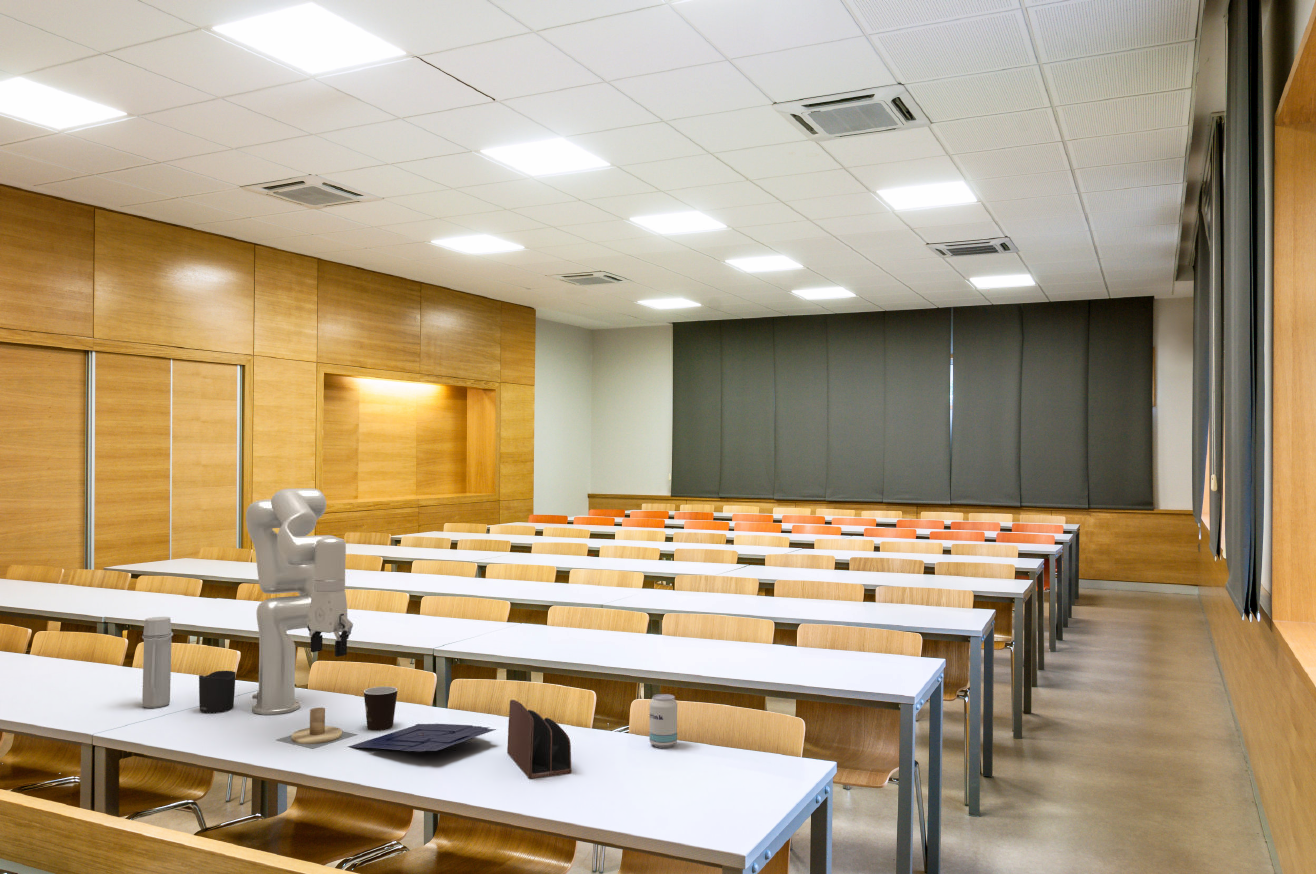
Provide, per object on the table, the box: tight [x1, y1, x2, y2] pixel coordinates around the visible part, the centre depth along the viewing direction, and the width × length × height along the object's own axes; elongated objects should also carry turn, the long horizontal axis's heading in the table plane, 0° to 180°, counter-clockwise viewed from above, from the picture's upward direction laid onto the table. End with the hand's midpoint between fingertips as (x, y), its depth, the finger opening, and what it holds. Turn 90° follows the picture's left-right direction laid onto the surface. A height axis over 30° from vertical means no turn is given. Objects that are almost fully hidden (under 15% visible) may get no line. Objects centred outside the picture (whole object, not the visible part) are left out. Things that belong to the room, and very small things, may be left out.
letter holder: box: [506, 699, 572, 780], centre depth 212 cm, size 10×20×14 cm, turn 24°
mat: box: [275, 730, 359, 750], centre depth 230 cm, size 14×14×1 cm
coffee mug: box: [363, 686, 399, 732], centre depth 241 cm, size 12×9×10 cm
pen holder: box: [198, 670, 237, 714], centre depth 257 cm, size 9×9×10 cm
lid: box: [291, 707, 343, 744], centre depth 230 cm, size 12×12×7 cm
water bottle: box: [141, 616, 174, 709], centre depth 260 cm, size 9×8×25 cm
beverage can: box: [648, 693, 678, 749], centre depth 227 cm, size 7×7×12 cm
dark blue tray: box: [347, 723, 498, 752], centre depth 225 cm, size 24×30×4 cm
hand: (328, 653), depth 231 cm, fingers open, 9 cm apart
